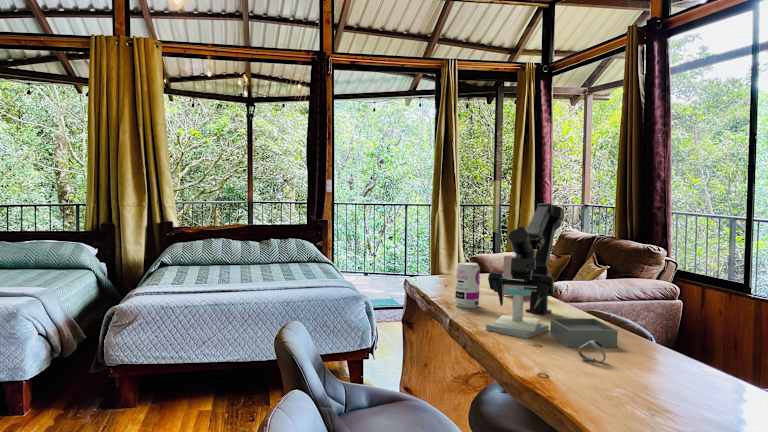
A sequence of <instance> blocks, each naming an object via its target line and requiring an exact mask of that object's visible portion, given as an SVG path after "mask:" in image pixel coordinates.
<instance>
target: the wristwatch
mask: <svg viewBox="0 0 768 432" xmlns="http://www.w3.org/2000/svg"><path fill="white" fill-rule="evenodd" d="M587 344H591V345H593V347H592V348H594V349H596V350H598V351H599V352H600V353H601V354H602V357H603V359H602V360H597V359H596V358H592V357H589V356H587V355H584V354H583V353H582V351H581V349H583V348H585V347H584V346H586V345H587ZM578 355H579V357H580V358H582V360H583V361H586V362H589V363H594V362H597V363H596V364H602V363H603V362H605V361H606V358H607V355H606V351H605V347H603V346H602V345H601V344H600V343H598V342H597V341H589V342H587V343H586V344H584V345H582V346H580V347H578Z"/></svg>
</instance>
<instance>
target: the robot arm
mask: <svg viewBox="0 0 768 432" xmlns="http://www.w3.org/2000/svg"><path fill="white" fill-rule="evenodd" d="M565 214H566V213H565V210H564V208H562V207H561V206H559V205H558V206H557V205H554V204H553V203H543V202H541V203H537V204H536V209H535V212H534V214H533V215H532V217H531V220H530V222H529V224H528V225H527V226H517V228H516V229H513V230H511V232H510V233H509V234H508V240H509V243H510V246H511V249H512V251H513V253H514V254H515V258H512V259H511V276H512V278H504V277H503V272H494V271H493V272H490V273H489V274H488V277H487V281H488V284H489V289H490V290H492V291H494V293H497V295H498V298H499V299H498V300H499V304H500V305H499V306H500V307H502V306H503V304H504V297H505V296H504V290H503V289H504V285H516V286H521V287H524V289H529V290H531V295H530V296H529V308H528V309H525V312H527V313H532V314H537V315H546V314H548V313H551V312H552V310H551V309H548V303H549V302H548V299H549V297H551V296H554V295H555V280H554V277H552V275H551V273H550V271H549V268H548V267H549V264H550V259H551V255H552V254H551V253H552V247H553V243H554V238H555V233H556V231H557V230H558V229H559V228H560V227H561V226H562V223H563V220H564V219H565ZM535 251H536V252H535Z"/></svg>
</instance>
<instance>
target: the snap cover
mask: <svg viewBox="0 0 768 432" xmlns="http://www.w3.org/2000/svg"><path fill="white" fill-rule="evenodd" d="M506 294H513V296H512V309H511V310H512V312H511V313H512V314H511V315H505V314H502V315H500V317H499V318H498V319H497V320H496V321H494V322H495V327H499V328H508V329H517V330H526V331H535V329H536V328H537V326H538V324H539V323H540V318H535V317H528V316H527V317H525V316H524V297H530V295H531V290H529V289H517V288H506ZM524 295H526V296H524Z"/></svg>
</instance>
